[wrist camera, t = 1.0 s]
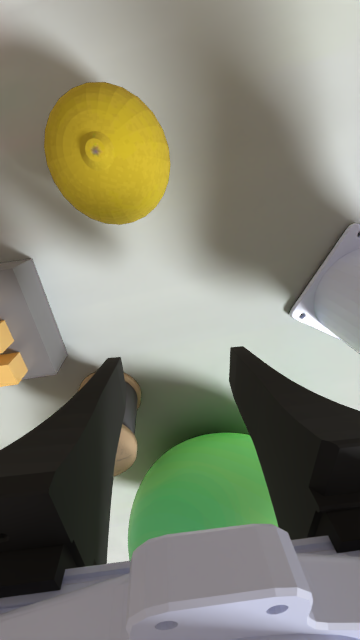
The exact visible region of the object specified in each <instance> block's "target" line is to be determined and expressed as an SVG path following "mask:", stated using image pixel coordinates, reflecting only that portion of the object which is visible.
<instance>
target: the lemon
mask: <svg viewBox="0 0 360 640" xmlns="http://www.w3.org/2000/svg"><path fill="white" fill-rule="evenodd" d="M44 149H45V155H46V160H47V165H48V168H49V170H50V173H51V175H52V178H53V180H54V182H55V184H56V185H57V187H58V188H59V190H60V192H61V193H62V195H63V196H64V197H65V198H66V199H67V200H68V201H69V202H70V203H71V204H72V205H73V206H74V207H75V208H76V209H77V210H78V211H80V212H82V213H83V214H85V215H86V216H88V217H90V218H91V219H94V220H97V221H100V222H103V223H107V224H119V225H120V224H126V223H131V222H134V221H136V220H138V219H141V218H143V217H145V216H146V215H147V214H148V213H150V212H151V211H152V210H153V209H154V208H155V207H156V206H157V204H158V203H159V201H160V200H161V198H162V197H163V195H164V192H165V189H166V187H167V184H168V181H169V172H170V157H169V147H168V144H167V141H166V138H165V135H164V132H163V129H162V127H161V126H160V124H159V122H158V121H157V119H156V117H155V115H154V114H153V112H152V111H151V110H150V109H149V108H148V107H147V106H146V105H145V104H144V103H143V102H142V101H141V100H140V99H139V98H138V97H137V96H135V95H134V94H132V93H130V92H129V91H127V90H126V89H124V88H122V87H119V86H116V85H112V84H109V83H106V82H96V83H85V84H82V85H80V86H77V87H74V88H72V89H70V90H69V91H68V92H67V93H66V94H64V95H63V96H62V97H61V98H59V100H58V101H57V103H56V104H55V106H54V107H53V109H52V111H51V112H50V115H49V118H48V121H47V125H46V128H45V141H44Z"/></svg>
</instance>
